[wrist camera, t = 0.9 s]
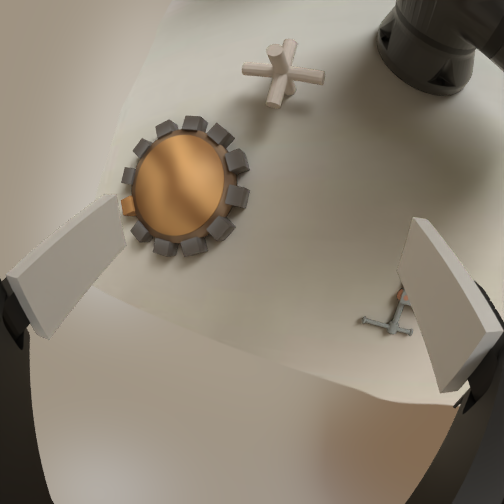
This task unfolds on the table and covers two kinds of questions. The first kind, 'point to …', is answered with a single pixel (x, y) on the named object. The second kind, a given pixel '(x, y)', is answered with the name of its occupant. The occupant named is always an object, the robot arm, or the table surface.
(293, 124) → the table surface
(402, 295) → the clamp
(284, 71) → the pipe connector
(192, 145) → the sprocket wheel
